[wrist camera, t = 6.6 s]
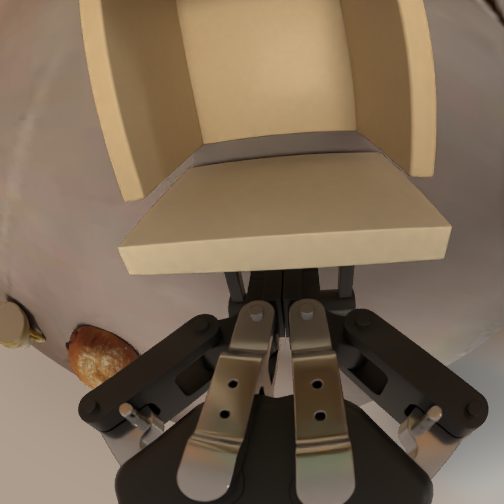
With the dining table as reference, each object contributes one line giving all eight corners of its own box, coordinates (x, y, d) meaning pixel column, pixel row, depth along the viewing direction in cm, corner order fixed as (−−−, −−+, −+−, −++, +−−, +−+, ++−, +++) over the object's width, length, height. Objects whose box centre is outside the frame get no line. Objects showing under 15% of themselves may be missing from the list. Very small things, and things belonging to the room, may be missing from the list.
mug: (19, 326, 35) (-17, 341, 25) (28, 286, 34) (-14, 298, 24) (43, 354, 35) (7, 375, 25) (54, 316, 34) (11, 335, 24)
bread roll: (136, 353, 37) (142, 403, 31) (72, 349, 32) (72, 400, 26) (141, 318, 31) (148, 379, 26) (62, 312, 26) (57, 374, 21)
